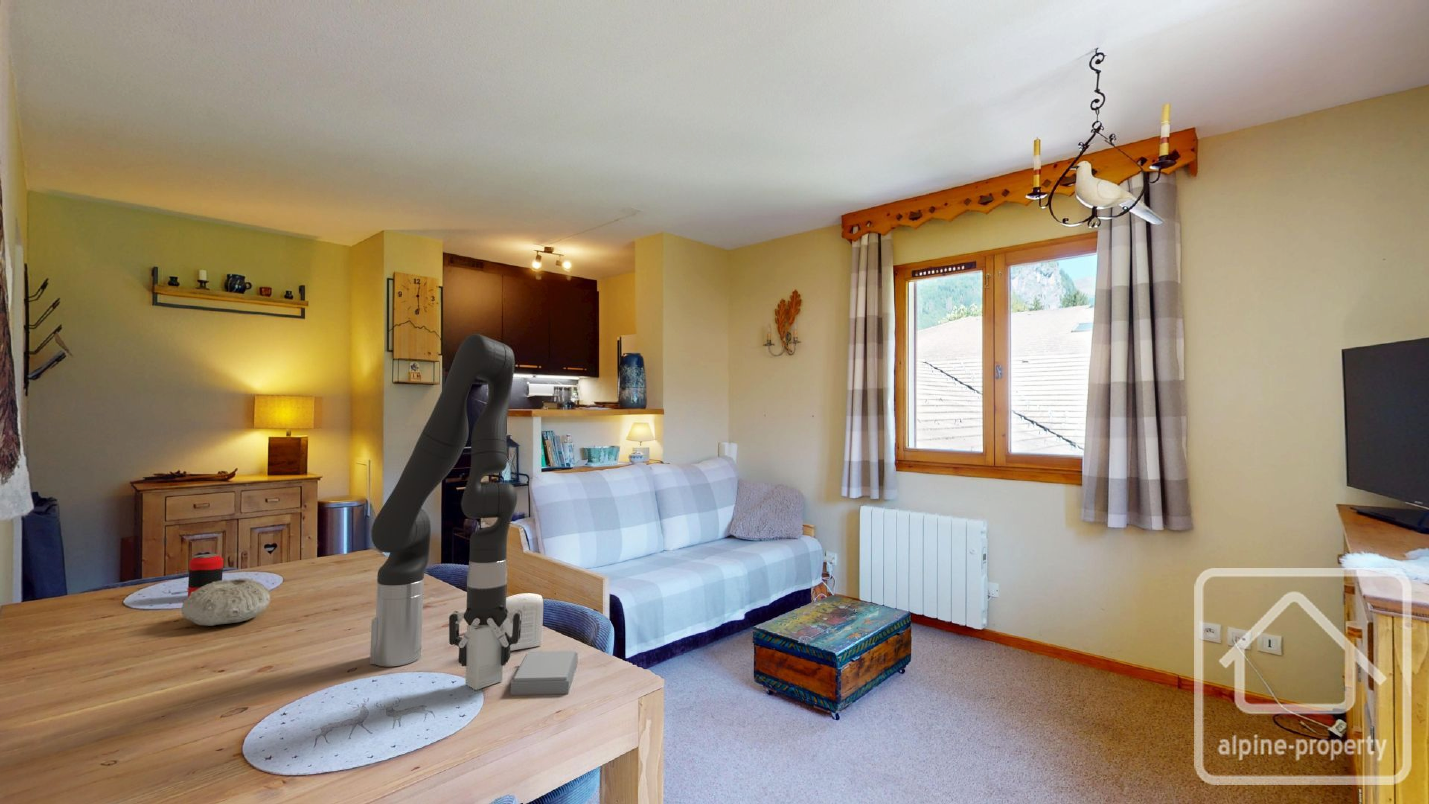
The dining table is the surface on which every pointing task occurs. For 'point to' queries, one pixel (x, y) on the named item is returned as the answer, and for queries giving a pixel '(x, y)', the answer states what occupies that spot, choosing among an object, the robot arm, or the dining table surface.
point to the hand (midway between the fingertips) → (484, 664)
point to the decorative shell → (226, 602)
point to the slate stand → (545, 673)
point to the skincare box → (483, 657)
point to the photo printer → (526, 619)
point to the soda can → (204, 571)
